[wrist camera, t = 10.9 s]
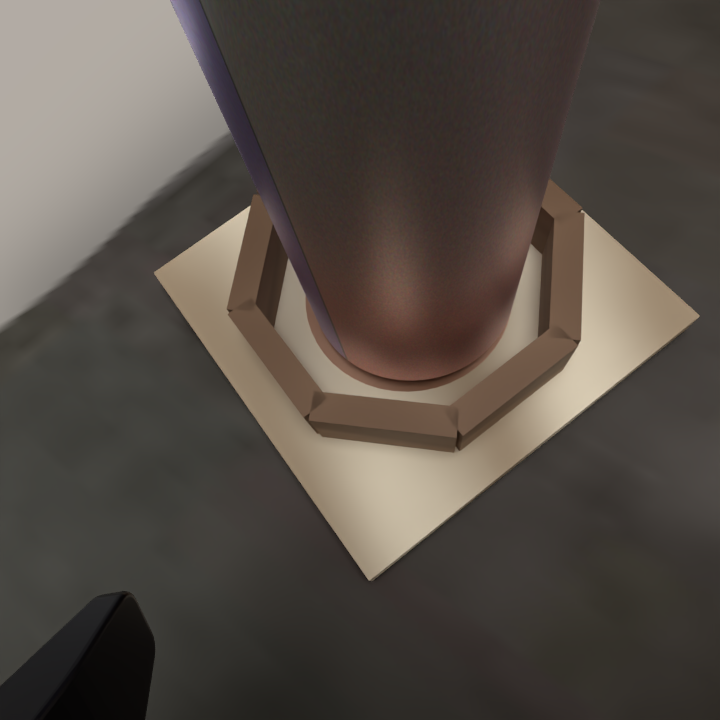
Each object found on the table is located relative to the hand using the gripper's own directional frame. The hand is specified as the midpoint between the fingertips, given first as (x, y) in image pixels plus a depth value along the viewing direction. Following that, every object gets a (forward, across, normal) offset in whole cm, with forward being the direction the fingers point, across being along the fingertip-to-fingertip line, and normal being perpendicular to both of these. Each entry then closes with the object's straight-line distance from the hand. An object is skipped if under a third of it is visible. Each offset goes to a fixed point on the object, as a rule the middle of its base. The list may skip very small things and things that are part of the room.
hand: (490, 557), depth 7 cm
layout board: (+13, 0, +1) cm, 13 cm away
